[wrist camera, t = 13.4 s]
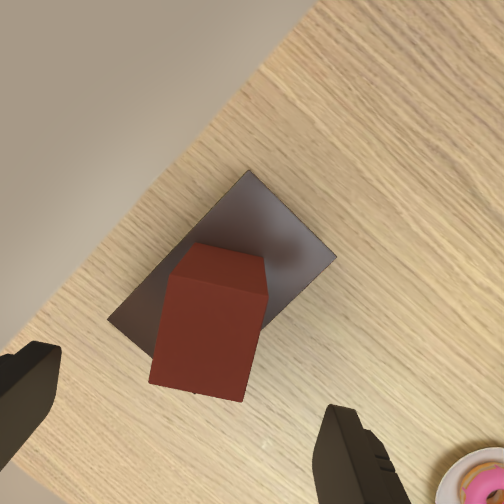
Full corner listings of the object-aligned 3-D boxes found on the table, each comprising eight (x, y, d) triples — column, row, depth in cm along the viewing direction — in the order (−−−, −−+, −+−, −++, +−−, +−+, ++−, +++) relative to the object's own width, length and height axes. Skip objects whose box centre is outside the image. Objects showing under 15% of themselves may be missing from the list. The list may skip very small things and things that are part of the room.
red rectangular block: (194, 241, 22) (169, 273, 15) (264, 257, 22) (269, 296, 15) (178, 320, 23) (147, 384, 16) (245, 334, 23) (242, 403, 16)
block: (249, 169, 26) (248, 169, 21) (322, 241, 27) (337, 257, 22) (131, 293, 28) (106, 319, 23) (204, 357, 29) (194, 394, 24)
